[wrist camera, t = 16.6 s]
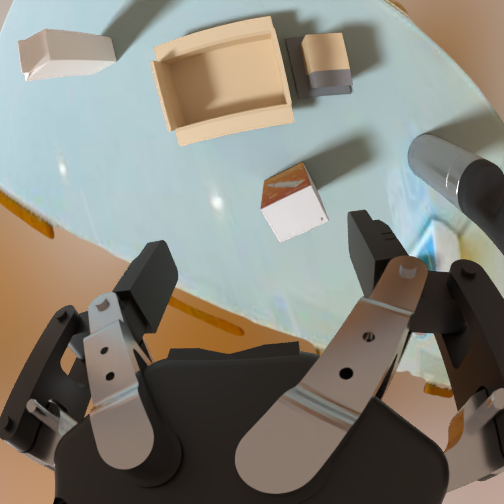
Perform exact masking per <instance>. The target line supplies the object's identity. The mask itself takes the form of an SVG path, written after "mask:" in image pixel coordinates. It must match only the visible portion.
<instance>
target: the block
mask: <svg viewBox="0 0 504 504" xmlns="http://www.w3.org/2000/svg"><path fill="white" fill-rule="evenodd" d="M300 49H301V53H302V57H303V62H304V66H305V71H306V75H307V80H308V85H309V89H311V88H321V87H333V86H346V85H353V83H352V77H351V72H350V67H349V62H348V57H347V53H346V48H345V44H344V40H343V36H342V33H324V34H309V35H306V36H305V37H304V39H303V41H302V42H301V44H300Z"/></svg>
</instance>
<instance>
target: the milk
mask: <svg viewBox="0 0 504 504" xmlns="http://www.w3.org/2000/svg"><path fill="white" fill-rule="evenodd" d="M18 50H19V58H20V65H21V71H22V73H24V74H25V79H26V81H33V80H39V79H47V78H55V77H65V76H79V75H94V74H95V73H97V72H99V71H101V70H102V69H104V68H106V67H108V66H110V65H111V64H113V63H115V62H117V60H116V56H115V52H114V48H113V44H112V40H111V38H110V37H105V36H100V35H94V34H88V33H81V32H73V31H64V30H53V29H45V30H43V31H41V32H39V33H37V34H35V35H33V36H32V37H30V38H28V39H26V40H20V41H18Z"/></svg>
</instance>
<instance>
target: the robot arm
mask: <svg viewBox="0 0 504 504" xmlns="http://www.w3.org/2000/svg"><path fill="white" fill-rule="evenodd" d="M408 162H409V166H410V168H411V170H412V171H413V173H414V174H415V175H417V176H418V177H419V178H421V179H422V180H423V181H424V182H426V183H427V184H428V185H430V186H431V187H432V188H434V189H435V190H436V191H437V192H439V193H440V194H441V195H442V196H444V197H445V198H446V199H447V200H448V201H450V202H451V203H452V204H453V205H455V206H456V207H457V208H458V209H459V210H460V211H461V212H463V213H464V214H465V215H466V216H467V217H468V218H470V219H471V220H472V221H473V222H474V223H475V224H477V225H478V226H479V227H480V228H481V229H482V230H483V231H484V232H485V233H486V235H487V236H488V237H489V238H490V239H491V240H492V241H493V243H494V244H495V245H496V246H497V247H498V249H499V250H500V251H501V252H502V254H503V255H504V174H503V172H502V171H501V169H500V168H499V167H498V166H497V165H495V164H494V163H492V162H490V161H488V160H486V159H484V158H482V157H480V156H478V155H476V154H474V153H472V152H470V151H468V150H465V149H463V148H461V147H459V146H457V145H455V144H452V143H450V142H448V141H446V140H443V139H441V138H439V137H436V136H434V135H430V134H423V135H420V136H418V137H417V138H416V139H415V140H414V141H413V142H412V144H411V146H410V148H409V152H408ZM348 244H349V253H350V258H351V261H352V263H353V266H354V269H355V271H356V274H357V277H358V280H359V282H360V285H361V288H362V291H363V294H364V296H365V297H364V296H363V297H361V298H360V299H359V301H358V302H357V304H356V305H355V307H354V308H353V310H352V311H351V313H350V314H349V316H348V317H347V319H346V320H345V322H344V323H343V325H342V326H341V328H340V329H339V331H338V332H337V334H336V335H335V336H334V338H333V339H332V341H331V342H330V343H329V345H328V346H327V347H326V349H325V350H324V352H323V353H322V354H321V356H320V355H317V354H313V353H308V352H302V351H300V349H299V342H298V341H297V342H288V343H278V344H268V345H262V346H258V347H255V348H252V349H247V350H244V351H240V352H236V353H232V354H225V353H219V352H214V351H209V350H204V349H200V348H189V349H188V348H184V349H170V351H169V354H168V357H167V358H166V359H162V360H160V361H157V362H155V361H154V359H153V357H152V355H151V353H150V350H149V348H148V345H147V343H146V341H145V339H144V338H143V335H144V333H156V331H157V328H158V326H159V324H160V321H161V319H162V316H163V314H164V311H165V309H166V306H167V304H168V302H169V300H170V297H171V295H172V293H173V290H174V288H175V286H176V283H177V281H178V270H177V267H176V265H175V262H174V260H173V258H172V255H171V253H170V250H169V248H168V245H167V243H166V242H165V241H164V240H160V241H155V242H149V243H147V245H146V246H145V247H144V249H143V250H142V252H141V253H140V255H139V256H138V257H137V258H136V259H134V260H133V261H132V263H131V264H130V265H129V267H128V270H126V271H125V273H124V276H122V278H121V279H120V281H119V282H118V283H117V285H116V287H115V288H114V290H113V291H112V292H107V293H104V294H101V295H100V296H98V297H97V298H95V299H94V300H93V301H92V303H91V304H90V305H89V308H88V311H86V312H83V313H80V314H78V312H77V311H76V310H75V308H74V307H73V306H72V305H68V306H65V307H63V308H61V309H60V310H59V311H57V312H56V313H55V315H54V316H53V318H52V319H51V320H50V322H49V324H48V325H47V327H46V329H45V330H44V332H43V334H42V335H41V337H40V338H39V340H38V342H37V344H36V345H35V347H34V349H33V351H32V352H31V354H30V356H29V358H28V360H27V362H26V363H25V365H24V367H23V369H22V371H21V373H20V375H19V377H18V379H17V381H16V383H15V385H14V388H13V389H12V391H11V394H10V396H9V398H8V400H7V403H6V405H5V407H4V410H3V412H2V414H1V417H0V438H1V439H3V440H4V441H5V442H6V443H8V444H9V445H11V446H12V447H14V448H15V449H17V450H18V451H19V452H20V453H22V454H23V455H25V456H27V457H28V458H30V459H31V460H33V461H35V462H37V463H38V464H40V465H43V466H45V467H47V468H49V469H51V470H53V471H54V472H55V499H54V503H53V504H442V501H443V499H444V497H445V494H446V493H447V492H450V491H452V490H455V489H457V488H460V487H462V486H465V485H467V484H469V483H472V482H474V481H476V480H477V481H485V480H487V479H490V478H492V477H494V476H496V475H498V474H500V473H502V472H504V299H503V297H502V296H501V294H500V292H499V291H498V289H497V288H496V286H495V285H494V283H493V282H492V280H491V279H490V278H489V276H488V275H487V273H486V272H485V270H484V269H483V268H482V267H481V266H480V265H479V264H477V263H475V262H473V261H470V260H466V259H461V260H457V261H455V262H453V263H452V265H451V267H450V272H436V271H429V270H428V267H427V265H426V264H425V263H424V262H423V261H422V260H420V259H418V258H416V257H413V256H409V255H408V254H407V252H406V251H405V249H404V248H403V246H402V245H401V243H400V242H399V240H398V239H397V237H396V236H395V234H394V233H393V232H392V230H391V229H390V227H389V226H388V225H387V224H385V223H384V222H382V221H380V220H372V218H371V217H370V215H369V214H368V212H367V211H366V210H359V211H351V212H348ZM413 332H419V333H434V335H435V338H436V341H437V344H438V346H439V349H440V352H441V355H442V358H443V361H444V364H445V367H446V370H447V373H448V377H449V380H450V384H451V387H452V391H453V394H454V398H455V402H456V406H457V409H458V412H457V413H456V414H455V416H454V417H453V418H452V420H451V422H450V425H449V429H448V436H449V437H448V444H447V447H446V449H445V451H444V452H443V451H442V449H441V448H440V447H439V446H438V445H437V444H436V443H435V442H434V441H433V440H431V439H430V438H429V437H427V436H426V435H425V434H423V433H422V432H421V431H420V430H418V429H417V428H416V427H414V426H413V425H412V424H410V423H409V422H408V421H407V420H405V419H404V418H403V417H402V416H400V415H399V414H398V413H396V412H395V411H394V410H393V409H391V408H390V407H389V406H387V405H386V404H385V403H384V402H383V401H382V399H383V397H384V395H385V393H386V391H387V389H388V387H389V385H390V383H391V381H392V378H393V376H394V374H395V372H396V370H397V368H398V365H399V363H400V361H401V359H402V357H403V354H404V352H405V350H406V348H407V345H408V343H409V341H410V338H411V336H412V333H413ZM67 346H68V347H69V348H70V349H71V350H72V351H73V352H74V354H75V355H76V356H77V358H76V360H75V362H74V364H73V366H72V368H71V371H70V373H69V375H67V374H66V373H65V372H64V371H63V370H62V368H61V365H60V360H61V357H62V356H63V354H64V351H65V350H66V348H67ZM91 396H92V401H93V409H91V411H90V414H88V415H87V416H86V417H85V418H84V416H85V413H86V410H87V407H88V404H89V401H90V399H91Z"/></svg>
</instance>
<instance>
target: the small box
mask: <svg viewBox="0 0 504 504" xmlns="http://www.w3.org/2000/svg"><path fill="white" fill-rule="evenodd" d="M261 211H262V213H263V215H264V216H265V218H266V220H267V221H268V223H269V225H270V227H271V228H272V230H273V232H274V233H275V235H276V237H277V239H278V240H279V242H283V241H286V240H288V239H290V238H293V237H295V236H297V235H300V234H303V233H305V232H307V231H309V230H311V229H313V228H315V227H317V226H319V225H321V224H324V223H326V222H328V221H329V219H328V216H327V214H326V211H325V208H324V206H323V203H322V200H321V198H320V196H319V193H318V191H317V189H316V187H315V185H314V183H313V181H312V179H311V177H310V175H309V173H308V171H307V169H306V167H305V165H304V163H303V162H301V163H299V164H297V165H295V166H293V167H292V168H290V169H287V170H285V171H284V172H282V173H279V174H277V175H275V176H273V177H271V178H269V179H267V180H265V181H264V185H263V193H262V201H261Z"/></svg>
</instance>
